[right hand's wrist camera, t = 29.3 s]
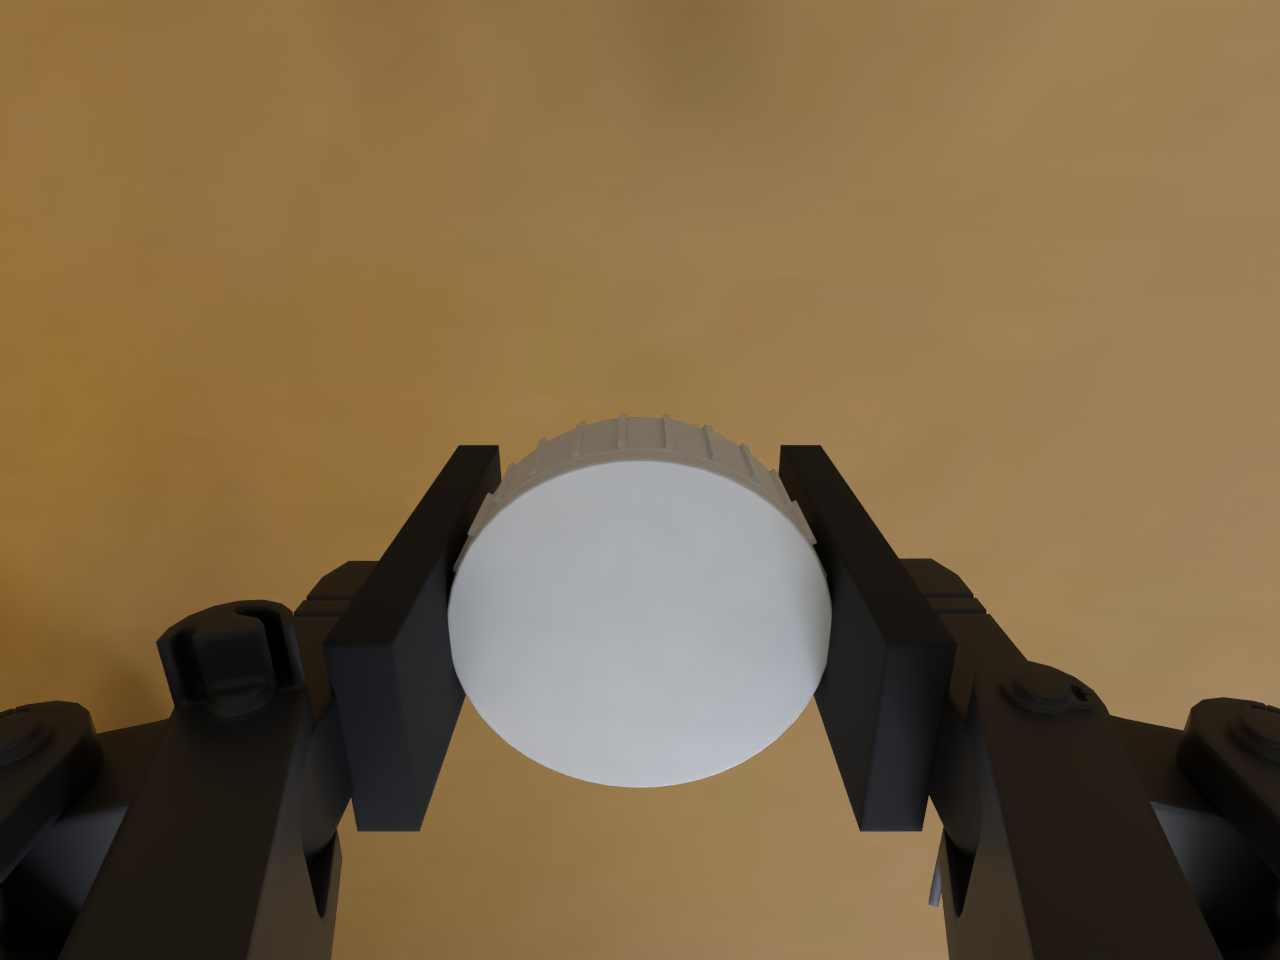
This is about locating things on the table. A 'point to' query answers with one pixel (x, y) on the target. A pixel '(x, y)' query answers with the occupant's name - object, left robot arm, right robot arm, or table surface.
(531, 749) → the lid
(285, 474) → the table surface
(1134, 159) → the table surface
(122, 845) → the right robot arm
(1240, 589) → the table surface
